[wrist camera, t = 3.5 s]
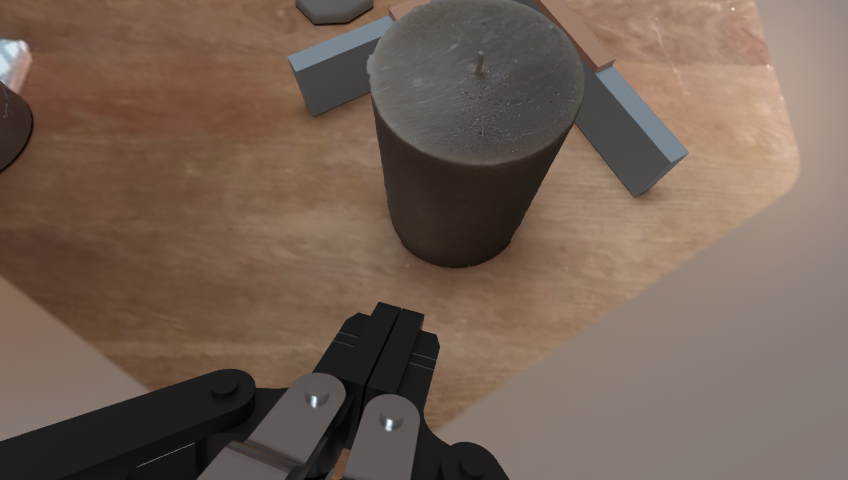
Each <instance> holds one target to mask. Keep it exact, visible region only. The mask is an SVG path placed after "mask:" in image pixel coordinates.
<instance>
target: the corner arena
mask: <svg viewBox="0 0 848 480" xmlns="http://www.w3.org/2000/svg"><path fill="white" fill-rule="evenodd" d="M512 1H515V2H518V3H520V4H524V5H527V6H529V7H530V8H532V9H534V10H536V11H537V12H539V13H541V14H542V15H544V16H545V17H547V18H548V19H550V20H551V21H552V22H553V23H554V24H556V25H557V26H558V27H559V28H560V29H561V30H562V31H563V32H565V34H566V35H567V36H568V37H569V39H570V40H571V42H572V44H573V45H574V47H575V49H576V50H577V52H578V55H579V56H580V59H581V62H582V65H583V69H584V76H585V92H584V99H583V102H582V106H581V108H580V110H579V113H578V115H577V117H576V119H575V124H576V125H577V126H578V127H579V129H580V130H581V131H582V132H583V134H584V135H585V136H586V137H587V139H588V140H589V141H590V142H591V144H592V145H593V146H594V148H595V149H596V150H597V151H598V153H599V154H600V155H601V156H602V158H603V159H604V160H605V161H606V163H607V164H608V165H609V166H610V168H611V169H612V170H613V171H614V173H615V174H616V175H617V176H618V178H619V179H620V180H621V181H622V183H623V184H624V185H625V186H626V188H627V189H628V190H629V191H630V193H631V194H632V195H633V196H634V197H636V196H638V195H639V194H641V193H643V192H645V191H647V190H648V189H650V188H651V187H652V186H653V185H655V184H656V183H657V182H658V181H659V180H660V179H661V178H662V177H663V176H664V175H665V174H667V173H668V172H669V171H670V170H671V169H672V168H673V167H674V166H675V165H676V164H678V163H679V162H680V161H681V160H682V159H683V158H684V157H685V156H686V155H687V154H688V153H689V152H688V151H687V150H686V149H685V147H684V146H683V145H682V144H681V143H680V142H679V141H678V139H677V138H676V137H675V136H674V135H673V134H672V133H671V132H670V130H669V129H668V128H667V127H666V126H665V125H664V124H663V122H662V121H661V120H660V119H659V118H658V117H657V116H656V114H655V113H654V112H653V111H652V110H651V109H650V108H649V107H648V105H647V104H646V103H645V102H644V101H643V100H642V99H641V97H640V96H639V95H638V94H637V93H636V92H635V91H634V89H633V88H632V87H631V86H630V85H629V84H628V83H627V82H626V80H625V79H624V78H623V77H622V76H621V75H620V74H619V72H618V71H617V70H616V69H615V68H614V67H613V66H612V65H613V63H614V61H615V60H616V58H615V57H614V56H613V55H612V54H611V53H610V52H609V51H608V49H607V48H606V47H605V46H604V45H603V44H602V43H601V42H600V40H599V39H598V38H597V37H596V36H595V35H594V34H593V33H592V31H591V30H590V29H589V28H588V27H587V26H586V25H585V24H584V22H583V21H582V20H581V19H580V18H579V17H578V16H577V15H576V13H575V12H574V11H573V10H572V9H571V8H570V7H569V6H568V5H567V3H566V2H565V1H564V0H512ZM428 3H430V0H408V1H405V2H403V3H400V4H398V5H396V6H393V7H391V8H389V16H386V17H384V18H381V19H379V20H376V21H374V22H372V23H369V24H367V25H364V26H362V27H359V28H357V29H354V30H352V31H349V32H347V33H345V34H342V35H340V36H337V37H335V38H332V39H330V40H327V41H325V42H322V43H320V44H318V45H315V46H313V47H310V48H308V49H305V50H303V51H300V52H298V53H295V54H293V55H291V56H288V60H289V62H290V65H291V67H292V70H293V73H294V75H295V78H296V80H297V83H298V85H299V88H300V90H301V93H302V95H303V98H304V101H305V103H306V105H307V107H308V109H309V110H310V112H311V114H312V116H313V117H314V116H316V115H318V114H321V113H323V112H325V111H327V110H330V109H332V108H334V107H336V106H339V105H341V104H343V103H346V102H348V101H350V100H352V99H355V98H357V97H359V96H362V95H364V94H366V93H368V92H371V91H370V84H369V79H370V75H369V74H368V73H367V69H366V67H367V60H368V59H369V55H372V54H373V53H374V50H375V48H376V46H377V43H378V40H379V39H380V38H381V37H382V36H383V35H384V34H385V33H386V31H387V30H388V29H389V28H390V26H391V25H392V24H393V22H394V21H398V20H399V19H400V18H401V17H403V16H404V15H405V14H406V13H408V12H409V11H411V10H412V9H413V8H414V7H416V6H419V5H424V4H428Z"/></svg>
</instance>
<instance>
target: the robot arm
mask: <svg viewBox="0 0 848 480" xmlns="http://www.w3.org/2000/svg"><path fill="white" fill-rule="evenodd" d="M31 122H32V120H31V112H30V110H29V108H28V105H27V103H26V102H25V101H24V100H23V99H22V98H21V97H20V96H19V95H18V94H16V93H15V92H14V91H12V90H11V89H10V88H8V87H7V86H6V85H5V84H3V83H2V82H1V81H0V170H1V169H3V168H4V167H5V166H6V165H8V164H9V163H10V162H11V161H12V160H13V159H14V158H15V157H16V156H17V154H18V153H19V152H20V151H21V149H22V147H23V146H24V144H25V143H26V141H27V138H28V136H29V133H30V129H31ZM424 316H425V314H421V313H418V312H414V311H411V310H407V309H402V310H401V308H400V307H396V306H392V305H389V304H385V303H382V302H378V304H377V306H376V307H375V309H374V311H373V313H372V314H371V316H369V315H365V314H362V313H357V314H355V315H354V316H352V317H350V318H349V319H347V320H346V321H345V323H344V324H343V326H342V327H341V329H340V330H339V333H338V334H337V335H336V337H335V338H334V340H333V341H332V343H331V344H330V346H329V347H328V349H327V350H326V352H325V354H324V355H323V357H322V358H321V360H320V361H319V363H318V364H317V366H316V367H315V369H314V371H313V372H312V373H311V374H307V375H304V376H302V377H300V378H298V379H297V380H296V381H295V382H294V383H293V384H292V385H291V386H290V387H288V388H282V389H270V388H256V386H255V381H254V379H253V378H252V377H251V376H250V375H249V374H248V373H246V372H244V371H241V370H237V369H223V370H218V371H214V372H211V373H208V374H205V375H202V376H199V377H196V378H193V379H190V380H187V381H184V382H181V383H178V384H175V385H172V386H168V387H165V388H162V389H159V390H156V391H153V392H150V393H147V394H144V395H141V396H138V397H135V398H132V399H129V400H126V401H123V402H120V403H116V404H113V405H110V406H107V407H104V408H101V409H98V410H95V411H92V412H89V413H86V414H83V415H80V416H77V417H74V418H71V419H68V420H64V421H61V422H58V423H56V424H52V425H49V426H46V427H43V428H40V429H37V430H34V431H31V432H28V433H25V434H22V435H19V436H15V437H12V438H10V439H6V440H3V441H0V480H330V479H331V477H332V475H333V473H334V468H335V465H336V463H337V461H338V459H339V456H340V454H341V452H342V450H343V448H346V449H350V450H351V452H350V455H349V458H348V461H347V465H346V468H345V471H344V474H343V476H342V479H339V480H509V478H508V477H507V475H506V474H505V472H504V471H503V469H502V468H501V466H500V465H499V463H498V462H497V460H496V459H495V457H494V456H493V455H492V454H491V453H490V452H489V451H487V450H486V449H485V448H483V447H482V446H480V445H477V444H474V443H470V442H459V443H455V444H453V445H451V446H450V445H448V444H447V443H445V442H444V441H441V440H440V439H439V438H438V437H436V436H435V435H434V434H433V433H432V432H431V430H430V429H429V428H428V426H427V424H426V422H425V420H424V413H423V411H424V406H425V402H426V399H427V395H428V391H429V387H430V384H431V380H432V376H433V372H434V368H435V364H436V361H437V357H438V353H439V349H440V345H439V342H438V338H437V335H436V334H432V333H429V332H425V331H422V330H421V329H422V325H423V321H424ZM192 443H194V444H192ZM190 444H192V445H190ZM187 445H190V446H187ZM185 446H187V447H185ZM182 447H185V448H182ZM180 448H182V449H180ZM178 449H180V450H178ZM175 450H178V451H175ZM173 451H175V452H173ZM170 452H173V453H170ZM168 453H170V454H168ZM166 454H168V455H166ZM163 455H166V456H163ZM161 456H163V457H161ZM158 457H161V458H159V459H156V458H158ZM154 459H156V460H154ZM151 460H154V461H152V462H149V461H151ZM146 462H149V463H147V464H145V465H142V466H139V465H141V464H144V463H146ZM138 466H139V467H138ZM136 467H137V468H136Z"/></svg>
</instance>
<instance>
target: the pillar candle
mask: <svg viewBox="0 0 848 480" xmlns="http://www.w3.org/2000/svg"><path fill="white" fill-rule="evenodd" d="M366 69H367V73H368V74H369V75H370V79H369V84H370V91H371V97H372V104H373V110H374V116H375V123H376V131H377V138H378V142H379V148H380V154H381V162H382V167H383V174H384V184H385V188H386V194H387V198H388V200H387V202H388V208H389V212H390V215H391V219H392V223H393V225H394V228H395V230H396V232H397V233H398V235H399V237H400V239H401V240H402V243H403V244H404V245H405V246H406V247H408V248H409V249H410V250H411V251H412V252H413V253H414V254H416V255H418V256H419V257H421V258H423V259H425V260H426V261H428V262H431V263H433V264H437V265H440V266H443V267H451V268H460V267H468V266H475V265H478V264H481V263H483V262H486V261H488V260H490V259H491V258H494V257H495V256H496V255H498V254H499V253H500V252H502V251H503V250H504V249H505V248H506V247H507V246H508V245H509V244H510V239H511V237H512V236H513V234H514V232H515V231H516V229H517V228H518V226H519V225H520V223H521V221H522V219H523V218H524V215H525V212H526V211H527V210H528V208H529V206H530V204H531V202H532V200H533V198H534V196H535V195H536V193H537V191H538V188H539V187H540V185H541V183H542V181H543V179H544V177H545V176H546V174H547V172H548V170H549V168H550V166H551V164H552V162H553V161H554V159H555V157H556V155H557V153H558V152H559V150H560V148H561V146H562V144H563V142H564V141H565V139H566V137H567V135H568V133H569V131H570V129H571V128H572V126H573V124H574V122H575V119H576V117H577V115H578V113H579V110H580V108H581V106H582V102H583V99H584V92H585V76H584V69H583V65H582V62H581V59H580V56H579V55H578V52H577V50H576V49H575V47H574V45H573V44H572V42H571V40H570V39H569V37H568V36H567V35H566V34H565V32H563V31H562V30H561V29H560V28H559V27H558V26H557V25H556V24H554V23H553V22H552V21H551V20H550V19H548V18H547V17H545V16H544V15H542V14H541V13H539V12H537V11H536V10H534V9H532V8H530V7H529V6H527V5H524V4H520V3H518V2H515V1H512V0H430V3H428V4H424V5H419V6H416V7H414V8H413V9H412V10H411V11H409V12H408V13H406V14H405V15H404V16H403V17H401V18H400V19H399V20H398V21H394V22H393V24H392V25H391V26H390V28H389V29H388V30H387V31H386V33H385V34H384V35H383V36H382V37H381V38H380V39H379V40H378V43H377V46H376V48H375V50H374V53H373V54H372V55H369V59H368V60H367V67H366Z"/></svg>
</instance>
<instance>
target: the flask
mask: <svg viewBox="0 0 848 480" xmlns="http://www.w3.org/2000/svg"><path fill="white" fill-rule="evenodd" d="M295 5H296V6H297V7H298V8H299V9H300V10H301V11H302V12H303V13H304V14H305V15H306V16H307V17H308V18H309V19H310V20H311V21H312V22H313V23H314V24H320V23H342V22H349V21H350V20H352V19H353V18H355V17H357V16H358V15H360V14H362V13H363V12H365V11H366V10H368V9H370V8H371V7H373V0H296V3H295Z"/></svg>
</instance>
